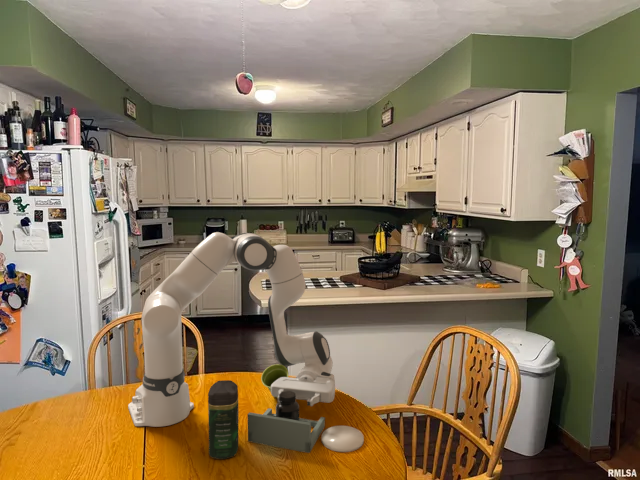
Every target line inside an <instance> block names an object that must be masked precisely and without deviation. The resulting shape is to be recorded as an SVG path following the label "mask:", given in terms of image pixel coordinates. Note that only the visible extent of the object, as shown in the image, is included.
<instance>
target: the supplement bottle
mask: <svg viewBox="0 0 640 480" xmlns="http://www.w3.org/2000/svg"><path fill="white" fill-rule="evenodd" d="M275 414H276V417H280V418H286V419H292V420H298V421H299V418H300V404H299V403H298V402H297V399H296V395H295V393H294V392H291V391H284V392H281V393H280V394H279V402H278V401H277V403H276V406H275Z"/></svg>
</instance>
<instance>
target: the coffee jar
mask: <svg viewBox="0 0 640 480" xmlns="http://www.w3.org/2000/svg"><path fill="white" fill-rule="evenodd" d="M207 397H208V398H207V403H208V405H207V407H208V408H207V410H208V411H207V412H208V413H207V414H208V455H209V457H211V458H212V459H217V460H226V459H230V458H232V457H234V456H236V454H237V453H238V449H239V419H240V418H239V412H240V411H239V386H238V384H237V383H236V382H234V381H233V380H230V379H229V380H217V381H216V382H214V383H213V384H212V385H211V386H210V388H209V391H208V394H207Z"/></svg>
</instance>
